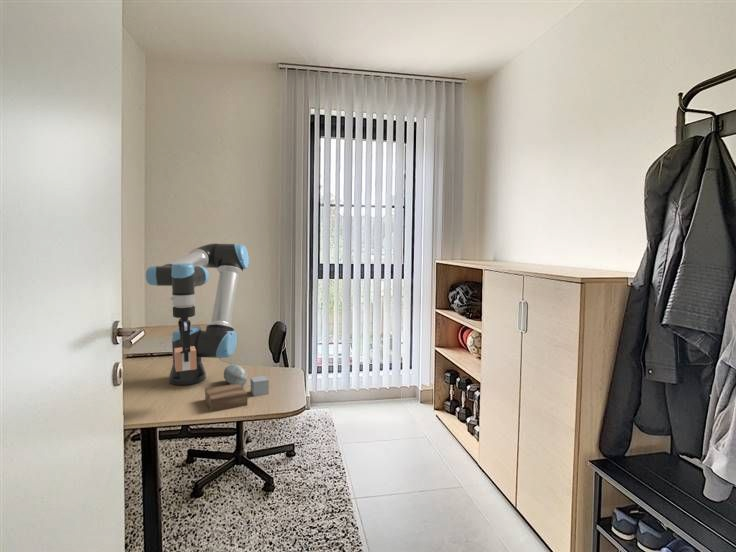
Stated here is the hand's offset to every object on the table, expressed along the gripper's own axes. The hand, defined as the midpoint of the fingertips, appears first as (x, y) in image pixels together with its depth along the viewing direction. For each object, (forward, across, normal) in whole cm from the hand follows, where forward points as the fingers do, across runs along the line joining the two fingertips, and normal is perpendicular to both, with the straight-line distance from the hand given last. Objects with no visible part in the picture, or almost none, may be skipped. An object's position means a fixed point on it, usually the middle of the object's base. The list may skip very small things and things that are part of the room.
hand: (185, 366), depth 159 cm
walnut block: (+16, +2, +14) cm, 21 cm away
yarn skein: (+16, -17, +21) cm, 31 cm away
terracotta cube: (0, 0, 0) cm, 0 cm away
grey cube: (+16, -3, +28) cm, 32 cm away
